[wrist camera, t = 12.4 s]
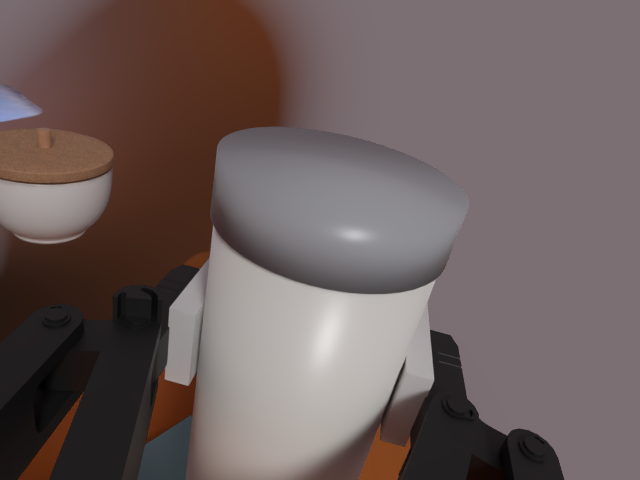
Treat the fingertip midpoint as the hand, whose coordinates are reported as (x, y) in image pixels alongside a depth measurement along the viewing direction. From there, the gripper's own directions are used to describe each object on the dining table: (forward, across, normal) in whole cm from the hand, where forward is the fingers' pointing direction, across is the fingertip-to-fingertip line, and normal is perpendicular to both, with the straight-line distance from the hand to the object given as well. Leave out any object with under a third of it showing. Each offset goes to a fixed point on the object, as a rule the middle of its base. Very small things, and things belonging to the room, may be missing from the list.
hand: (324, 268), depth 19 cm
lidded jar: (+18, -26, -14) cm, 35 cm away
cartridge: (-5, 0, -10) cm, 11 cm away
